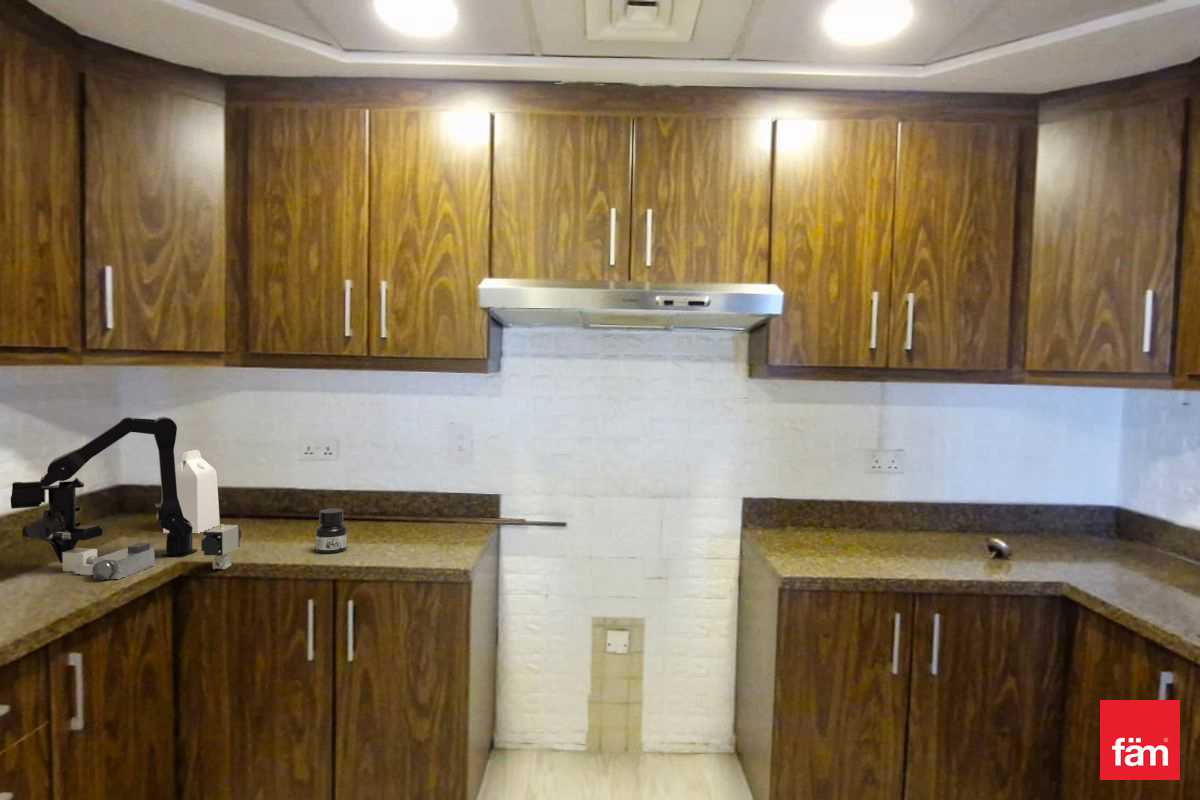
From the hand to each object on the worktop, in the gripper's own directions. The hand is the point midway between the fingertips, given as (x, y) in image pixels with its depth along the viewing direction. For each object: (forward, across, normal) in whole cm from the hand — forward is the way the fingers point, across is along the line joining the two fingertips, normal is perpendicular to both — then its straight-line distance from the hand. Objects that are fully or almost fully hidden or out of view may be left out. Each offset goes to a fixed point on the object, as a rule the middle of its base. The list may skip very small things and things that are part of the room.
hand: (63, 562), depth 182 cm
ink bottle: (+2, +60, +30) cm, 67 cm away
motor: (+1, +15, -1) cm, 15 cm away
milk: (+2, +2, +45) cm, 45 cm away
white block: (+2, +5, 0) cm, 5 cm away
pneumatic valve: (+2, +40, +8) cm, 40 cm away
